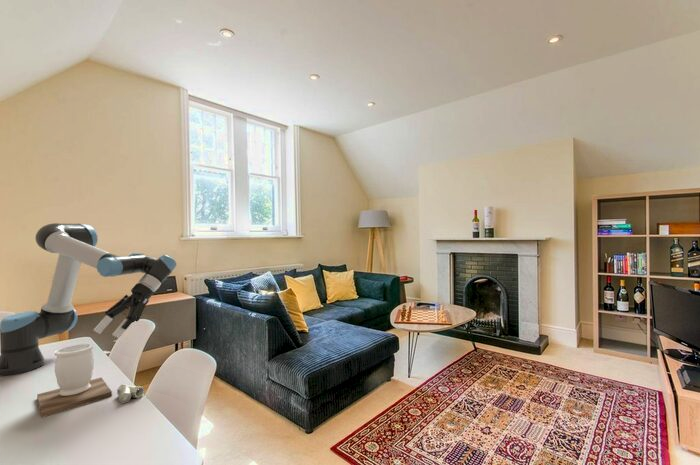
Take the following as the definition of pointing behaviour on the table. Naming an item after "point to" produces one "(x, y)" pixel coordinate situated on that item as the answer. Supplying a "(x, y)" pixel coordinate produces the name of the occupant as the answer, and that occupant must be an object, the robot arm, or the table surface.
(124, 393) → the pipe fitting
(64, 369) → the jar
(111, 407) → the table surface
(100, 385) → the walnut board
